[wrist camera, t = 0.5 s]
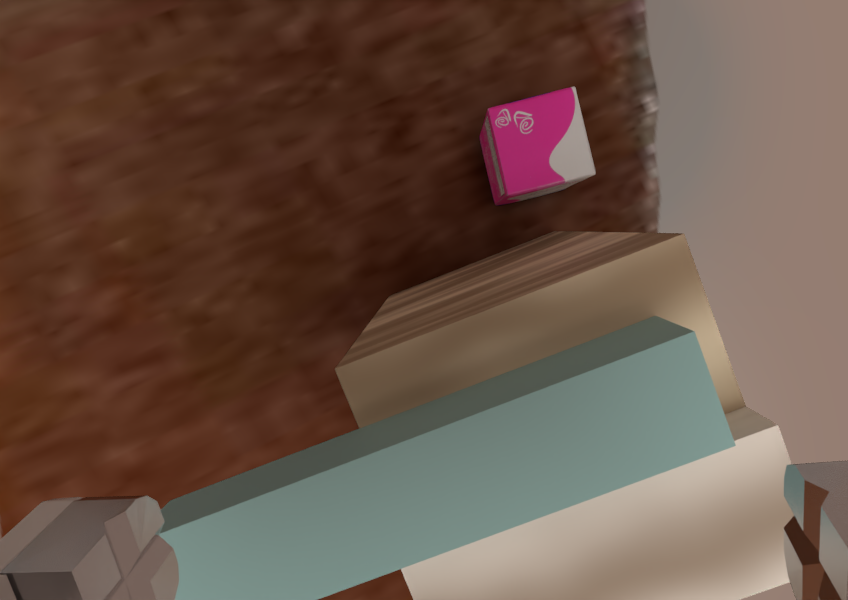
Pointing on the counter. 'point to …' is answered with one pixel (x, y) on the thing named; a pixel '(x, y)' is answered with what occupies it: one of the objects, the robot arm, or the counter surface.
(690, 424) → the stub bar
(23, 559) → the robot arm
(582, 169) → the supplement box
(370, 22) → the counter surface
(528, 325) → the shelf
